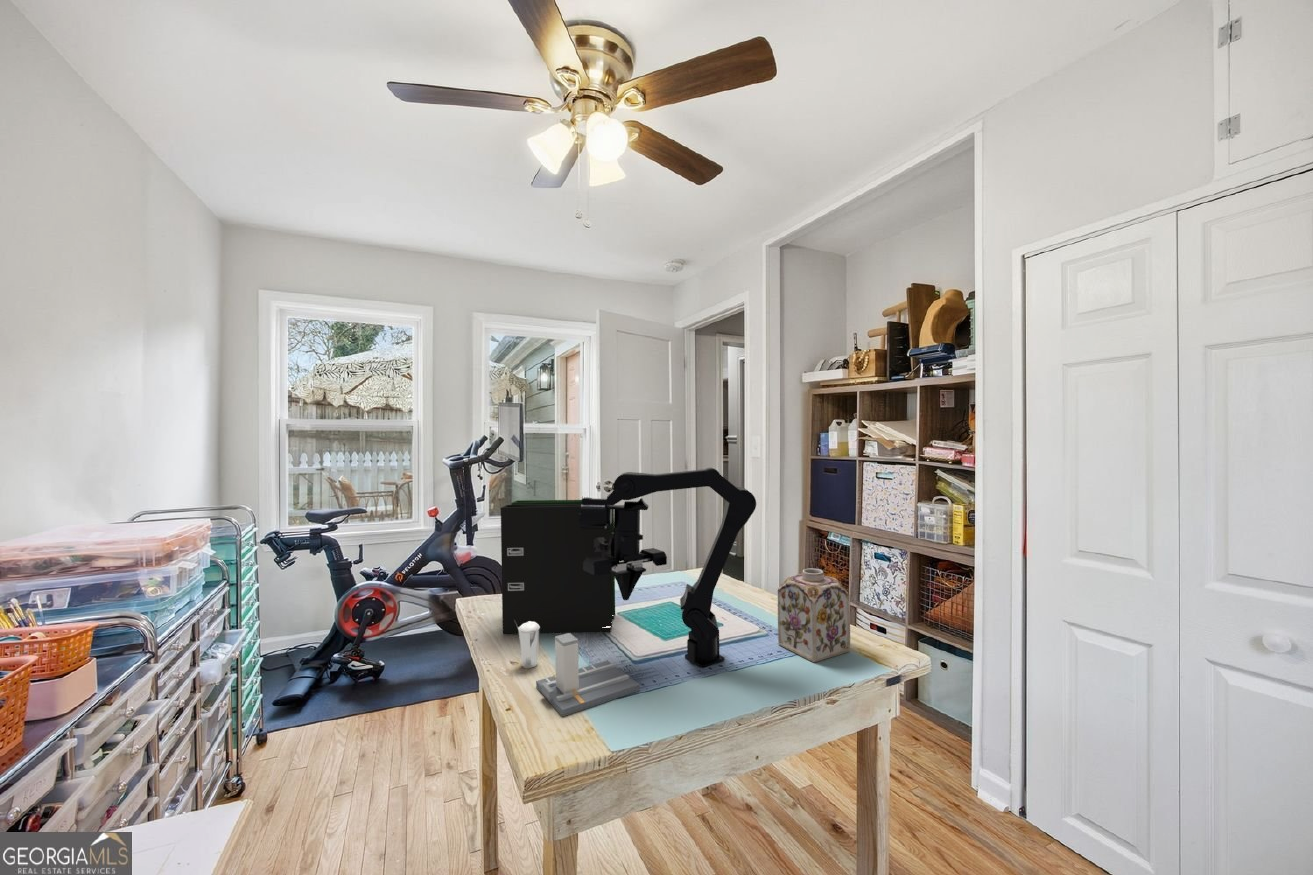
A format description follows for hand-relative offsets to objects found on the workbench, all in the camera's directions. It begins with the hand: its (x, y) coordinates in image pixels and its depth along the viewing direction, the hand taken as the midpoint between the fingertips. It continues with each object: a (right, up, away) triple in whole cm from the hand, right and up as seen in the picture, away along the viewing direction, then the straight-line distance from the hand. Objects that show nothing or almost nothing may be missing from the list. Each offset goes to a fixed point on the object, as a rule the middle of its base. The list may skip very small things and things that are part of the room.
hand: (625, 599), depth 113 cm
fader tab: (-10, -12, -15) cm, 22 cm away
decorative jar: (+43, -13, +4) cm, 45 cm away
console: (-7, -13, -13) cm, 20 cm away
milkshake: (-21, -14, -2) cm, 25 cm away
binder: (-18, -14, +22) cm, 32 cm away
